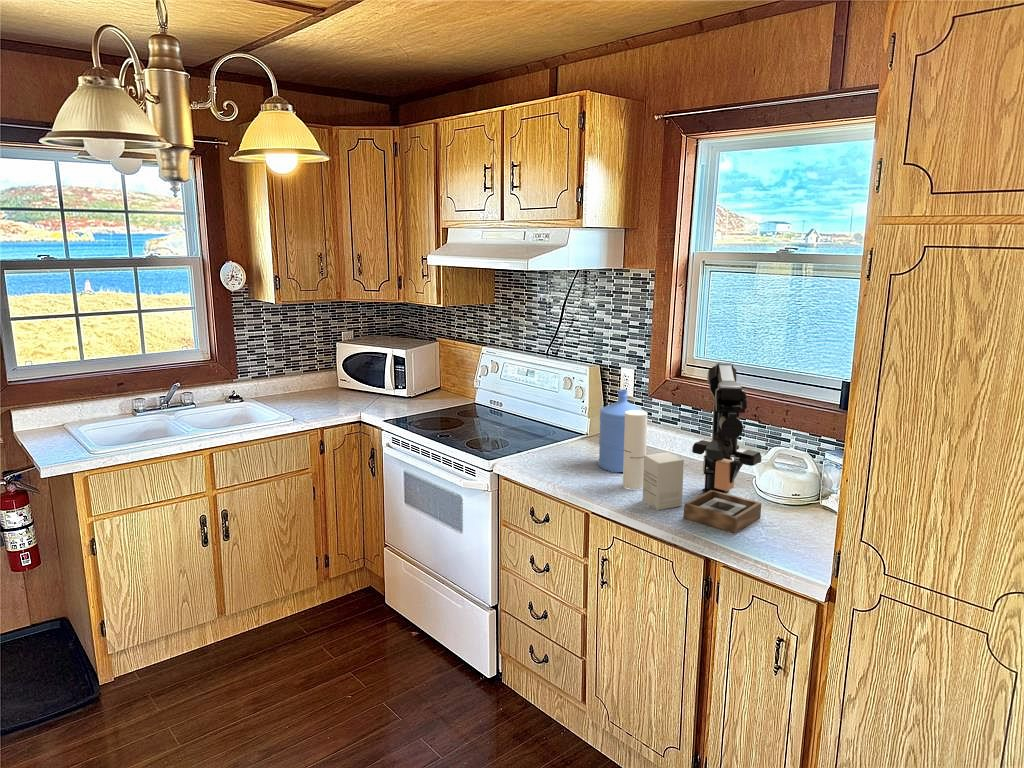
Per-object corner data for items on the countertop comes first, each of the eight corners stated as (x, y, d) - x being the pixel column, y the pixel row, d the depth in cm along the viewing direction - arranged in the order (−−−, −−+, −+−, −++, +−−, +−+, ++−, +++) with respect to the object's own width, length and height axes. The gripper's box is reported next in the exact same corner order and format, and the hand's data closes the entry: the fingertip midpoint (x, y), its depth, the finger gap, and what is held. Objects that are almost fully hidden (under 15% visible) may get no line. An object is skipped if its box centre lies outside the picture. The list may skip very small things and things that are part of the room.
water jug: (613, 476, 239) (616, 396, 234) (590, 463, 253) (592, 388, 248) (651, 470, 246) (654, 392, 240) (626, 457, 260) (629, 384, 254)
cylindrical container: (631, 481, 234) (633, 409, 229) (649, 486, 229) (651, 412, 224) (618, 486, 229) (620, 412, 224) (636, 491, 224) (638, 416, 219)
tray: (683, 518, 203) (684, 503, 202) (710, 503, 214) (711, 489, 213) (735, 533, 192) (736, 518, 191) (760, 517, 203) (761, 502, 202)
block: (714, 487, 201) (715, 461, 199) (720, 484, 204) (722, 458, 202) (727, 491, 198) (728, 464, 197) (733, 487, 201) (735, 461, 200)
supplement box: (666, 496, 220) (668, 451, 217) (682, 506, 212) (685, 459, 209) (641, 500, 217) (643, 454, 214) (656, 510, 209) (658, 462, 206)
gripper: (683, 428, 198) (681, 480, 201) (746, 441, 186) (742, 496, 189) (703, 421, 206) (700, 471, 209) (764, 432, 193) (760, 486, 197)
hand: (724, 481), depth 201 cm, fingers closed on block, 4 cm apart
